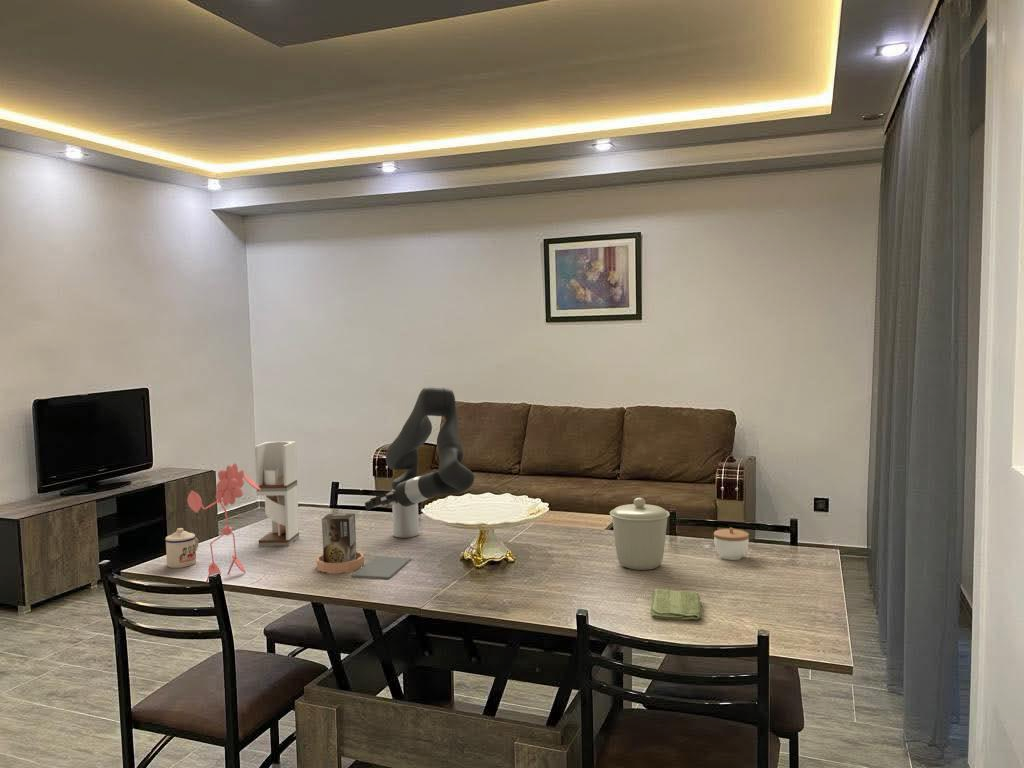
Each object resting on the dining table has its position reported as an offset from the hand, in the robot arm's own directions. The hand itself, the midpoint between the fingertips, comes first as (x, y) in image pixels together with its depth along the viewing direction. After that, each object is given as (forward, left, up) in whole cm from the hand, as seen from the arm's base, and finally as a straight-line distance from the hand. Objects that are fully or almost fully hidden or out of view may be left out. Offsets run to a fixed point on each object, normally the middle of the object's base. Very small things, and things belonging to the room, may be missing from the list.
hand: (375, 504), depth 240 cm
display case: (-25, -47, -20) cm, 57 cm away
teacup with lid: (+4, -65, -20) cm, 68 cm away
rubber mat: (0, +2, -20) cm, 20 cm away
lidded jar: (-27, +108, -20) cm, 113 cm away
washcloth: (+23, +91, -21) cm, 96 cm away
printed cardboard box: (0, -12, -20) cm, 24 cm away
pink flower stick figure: (+18, -38, -20) cm, 46 cm away
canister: (-14, +80, -20) cm, 84 cm away
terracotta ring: (0, -12, -20) cm, 23 cm away
